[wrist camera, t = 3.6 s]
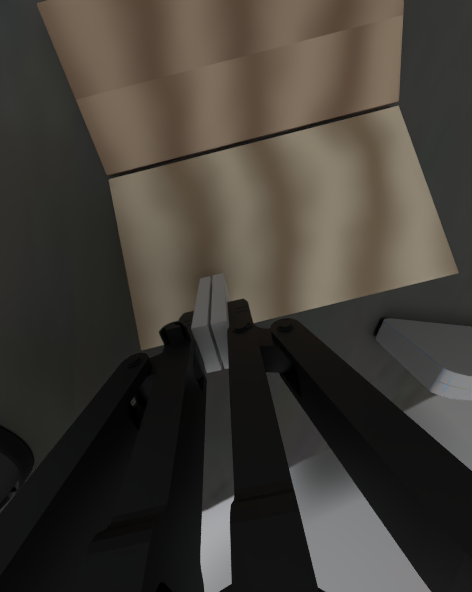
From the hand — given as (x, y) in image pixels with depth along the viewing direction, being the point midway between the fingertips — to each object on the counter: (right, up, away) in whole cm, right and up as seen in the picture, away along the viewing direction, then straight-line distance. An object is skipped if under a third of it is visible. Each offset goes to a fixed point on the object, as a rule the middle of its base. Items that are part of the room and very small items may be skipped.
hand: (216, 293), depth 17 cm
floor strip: (+1, +17, +1) cm, 17 cm away
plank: (+4, +5, +2) cm, 7 cm away
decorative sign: (+34, -6, +15) cm, 38 cm away
